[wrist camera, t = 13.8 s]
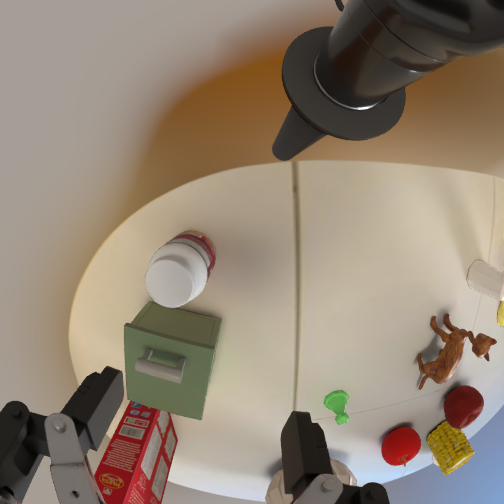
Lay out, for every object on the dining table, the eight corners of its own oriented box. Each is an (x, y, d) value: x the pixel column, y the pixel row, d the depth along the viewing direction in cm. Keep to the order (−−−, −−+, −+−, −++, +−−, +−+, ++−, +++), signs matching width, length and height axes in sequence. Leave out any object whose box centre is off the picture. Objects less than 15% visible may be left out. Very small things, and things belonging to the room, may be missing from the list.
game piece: (352, 392, 40) (361, 415, 34) (339, 408, 41) (346, 431, 35) (331, 388, 40) (340, 412, 34) (319, 404, 41) (325, 429, 35)
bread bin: (148, 301, 36) (126, 327, 28) (221, 319, 36) (214, 351, 29) (146, 365, 39) (129, 395, 31) (209, 381, 39) (202, 416, 32)
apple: (433, 414, 43) (450, 441, 33) (441, 387, 41) (462, 416, 31) (462, 398, 43) (481, 422, 33) (472, 370, 40) (494, 395, 31)
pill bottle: (188, 285, 35) (164, 326, 25) (160, 247, 34) (124, 275, 23) (226, 260, 34) (214, 295, 24) (198, 220, 33) (172, 237, 22)
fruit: (391, 421, 43) (407, 454, 33) (419, 419, 43) (435, 448, 34) (369, 446, 45) (381, 478, 35) (397, 444, 45) (410, 472, 36)
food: (452, 408, 45) (446, 427, 48) (419, 436, 44) (415, 452, 47) (487, 438, 31) (476, 454, 34) (453, 471, 29) (444, 483, 32)
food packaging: (136, 388, 40) (83, 500, 16) (164, 392, 40) (119, 514, 16) (153, 436, 44) (122, 531, 20) (177, 440, 44) (152, 540, 20)
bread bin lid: (126, 322, 28) (110, 341, 24) (215, 345, 29) (210, 370, 24) (129, 396, 31) (118, 416, 27) (202, 416, 32) (197, 439, 27)
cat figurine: (429, 382, 40) (460, 426, 27) (403, 389, 40) (433, 438, 27) (456, 301, 36) (505, 337, 23) (429, 305, 36) (479, 347, 23)
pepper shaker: (488, 266, 34) (528, 286, 24) (475, 292, 36) (513, 317, 25) (475, 253, 34) (519, 273, 23) (462, 281, 35) (503, 306, 24)
